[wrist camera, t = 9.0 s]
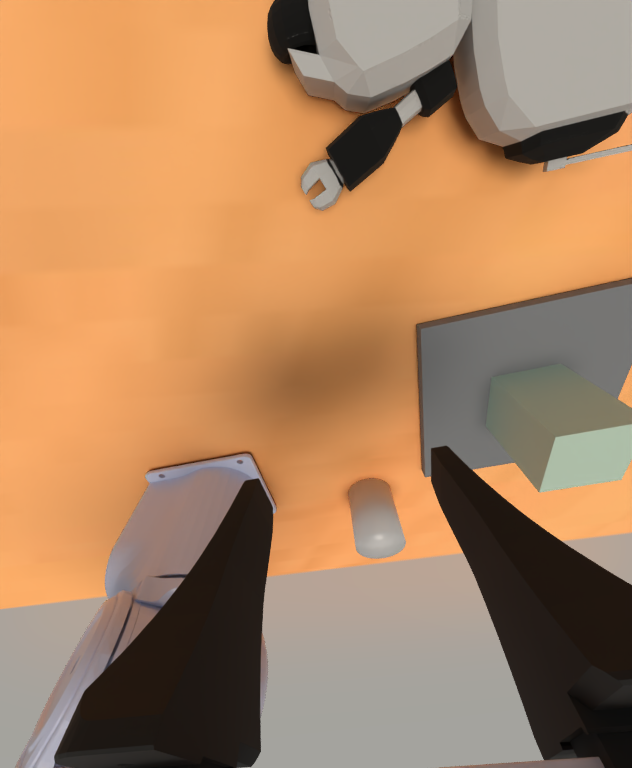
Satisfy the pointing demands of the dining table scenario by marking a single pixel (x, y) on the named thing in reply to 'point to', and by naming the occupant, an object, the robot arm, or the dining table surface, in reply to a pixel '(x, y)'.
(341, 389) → the dining table surface
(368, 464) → the dining table surface
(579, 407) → the block
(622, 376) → the mat
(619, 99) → the robot toy
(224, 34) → the dining table surface
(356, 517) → the grey cylinder
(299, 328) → the dining table surface
